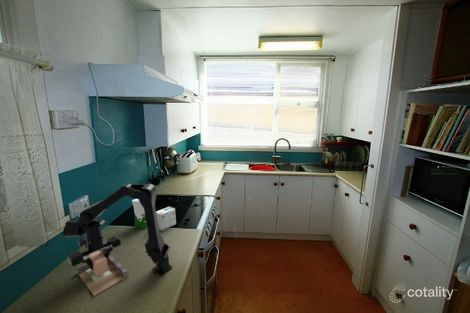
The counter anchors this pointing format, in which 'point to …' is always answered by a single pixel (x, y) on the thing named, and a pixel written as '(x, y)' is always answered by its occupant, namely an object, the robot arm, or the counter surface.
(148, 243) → the robot arm
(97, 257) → the terracotta block
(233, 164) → the counter surface
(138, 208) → the milk carton
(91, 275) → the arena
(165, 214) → the light bulb box
